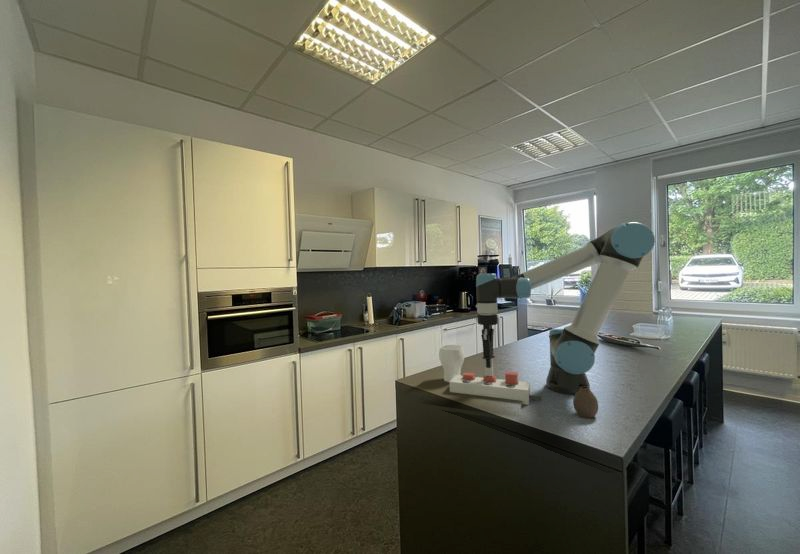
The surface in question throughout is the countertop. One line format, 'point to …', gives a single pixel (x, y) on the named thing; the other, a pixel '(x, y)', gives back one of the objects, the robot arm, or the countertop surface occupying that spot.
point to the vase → (585, 402)
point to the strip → (493, 388)
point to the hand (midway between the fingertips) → (489, 375)
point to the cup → (451, 360)
